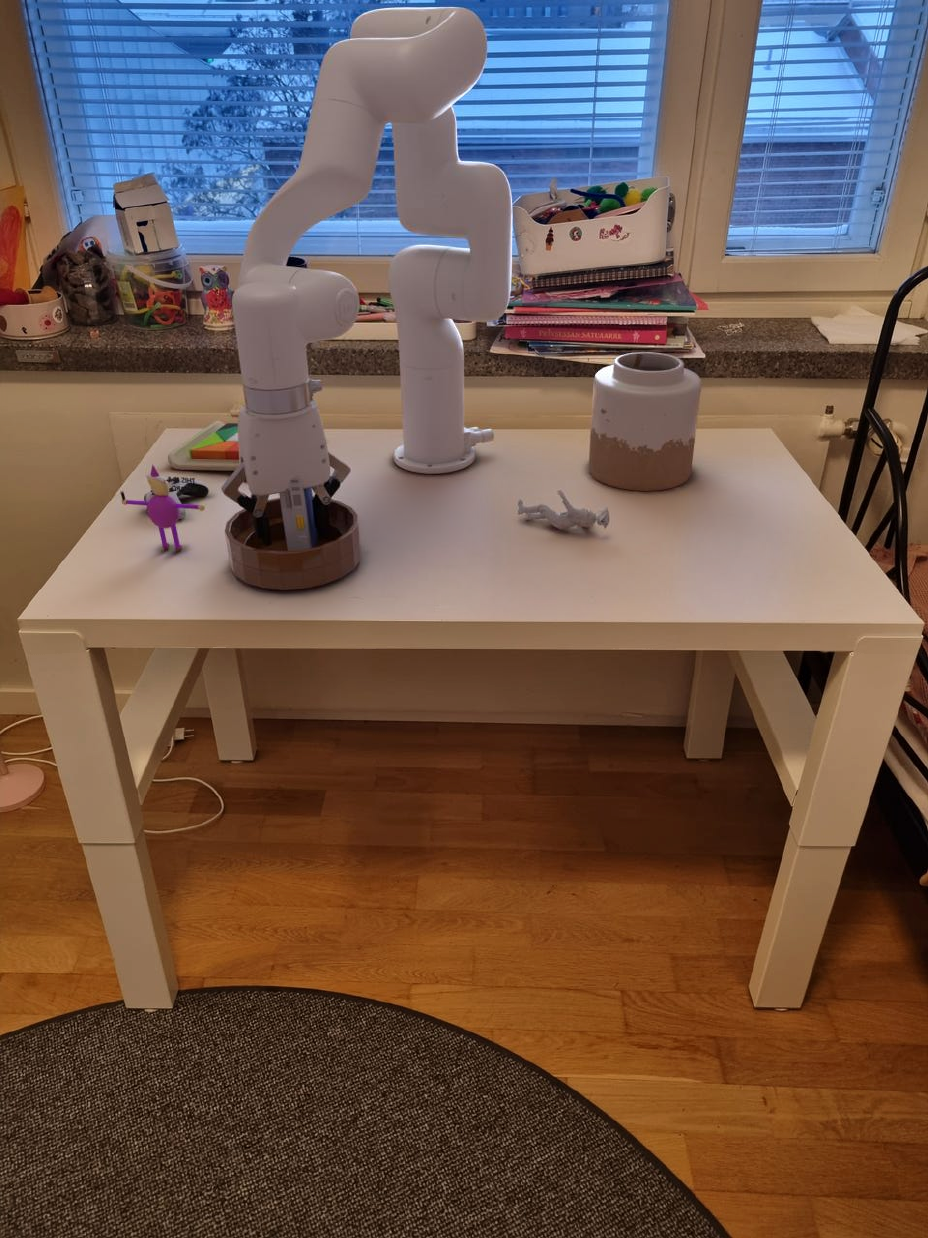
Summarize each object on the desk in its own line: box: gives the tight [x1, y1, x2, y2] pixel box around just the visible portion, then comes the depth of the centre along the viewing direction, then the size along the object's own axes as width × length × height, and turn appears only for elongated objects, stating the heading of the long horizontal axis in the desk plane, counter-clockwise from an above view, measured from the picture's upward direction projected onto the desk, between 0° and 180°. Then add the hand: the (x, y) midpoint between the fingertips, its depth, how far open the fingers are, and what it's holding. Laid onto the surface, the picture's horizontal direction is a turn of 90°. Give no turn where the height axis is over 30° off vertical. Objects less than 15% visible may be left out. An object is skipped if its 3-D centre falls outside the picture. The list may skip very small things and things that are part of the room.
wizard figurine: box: [119, 464, 205, 552], centre depth 122 cm, size 11×3×12 cm, turn 79°
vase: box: [588, 351, 702, 492], centre depth 142 cm, size 15×15×17 cm
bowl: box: [224, 495, 362, 591], centre depth 121 cm, size 16×16×6 cm
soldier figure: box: [517, 490, 610, 531], centre depth 129 cm, size 8×5×12 cm
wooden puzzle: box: [167, 420, 240, 472], centre depth 153 cm, size 17×19×4 cm
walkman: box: [278, 477, 318, 551], centre depth 120 cm, size 8×3×12 cm, turn 1°
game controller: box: [143, 476, 210, 520], centre depth 137 cm, size 10×5×6 cm
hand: (293, 534), depth 120 cm, fingers open, 6 cm apart
